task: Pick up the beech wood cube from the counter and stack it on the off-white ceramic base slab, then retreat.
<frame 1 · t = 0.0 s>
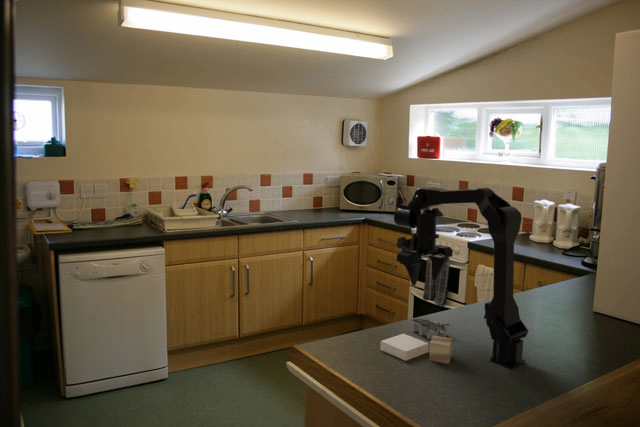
hand: (424, 282, 158), 15 cm above the counter, fingers open, 9 cm apart
cube: (440, 358, 140), on the counter
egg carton: (428, 334, 158), on the counter
base: (404, 351, 144), on the counter
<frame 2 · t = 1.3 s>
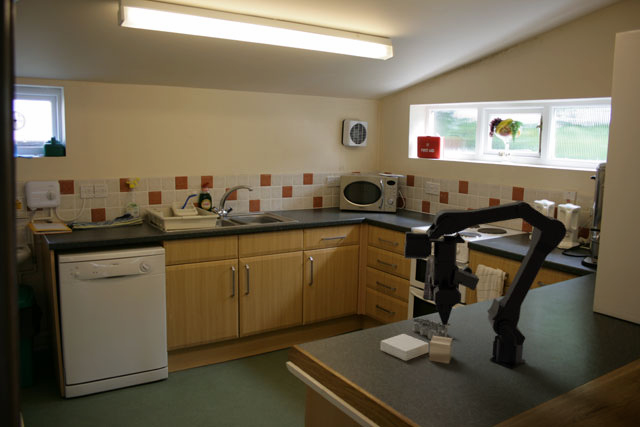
hand: (442, 318, 138), 11 cm above the counter, fingers open, 9 cm apart
nothing on the counter moved.
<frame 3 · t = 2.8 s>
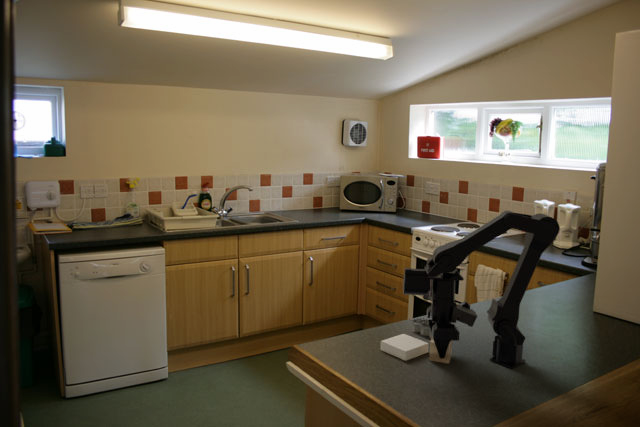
hand: (440, 353, 139), 1 cm above the counter, fingers closed on cube, 6 cm apart
cube: (440, 358, 140), on the counter, touching gripper
everything else where it was.
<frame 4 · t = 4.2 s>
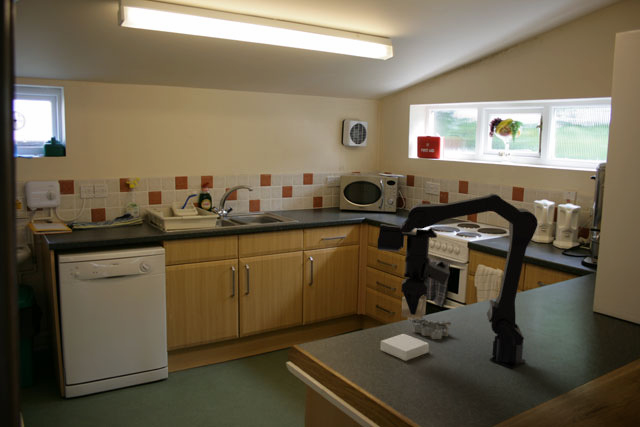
hand: (413, 310, 141), 12 cm above the counter, fingers closed on cube, 6 cm apart
cube: (413, 315, 141), point 10 cm above the counter, touching gripper
everything else where it was.
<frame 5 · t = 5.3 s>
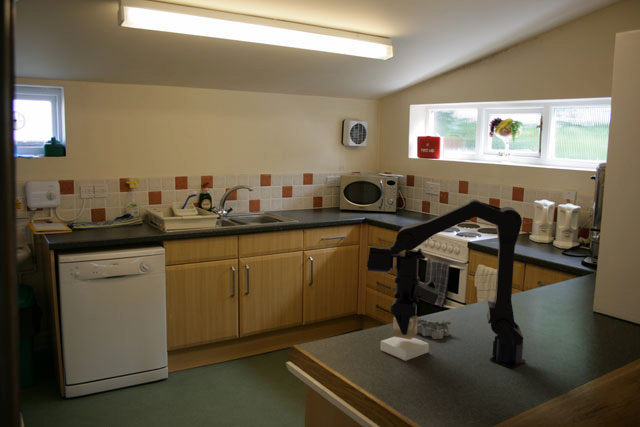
hand: (405, 330, 143), 6 cm above the counter, fingers closed on cube, 6 cm apart
cube: (405, 334, 143), point 5 cm above the counter, touching gripper
when the fingers open (5 cm above the counter, at t = 5.9 s): cube drops 1 cm, resting on base.
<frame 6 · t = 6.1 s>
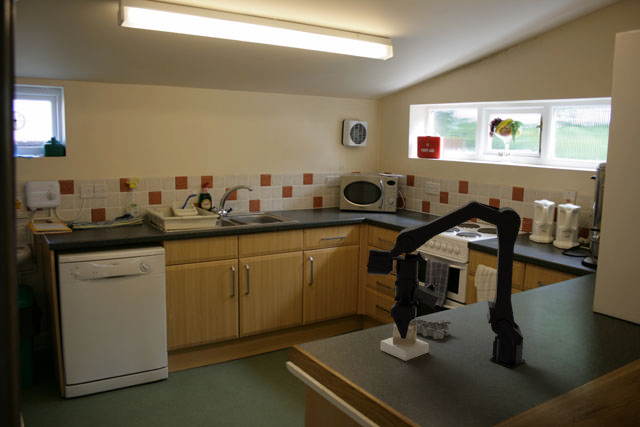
hand: (405, 333, 143), 5 cm above the counter, fingers open, 8 cm apart
cube: (404, 342, 144), point 2 cm above the counter, touching base
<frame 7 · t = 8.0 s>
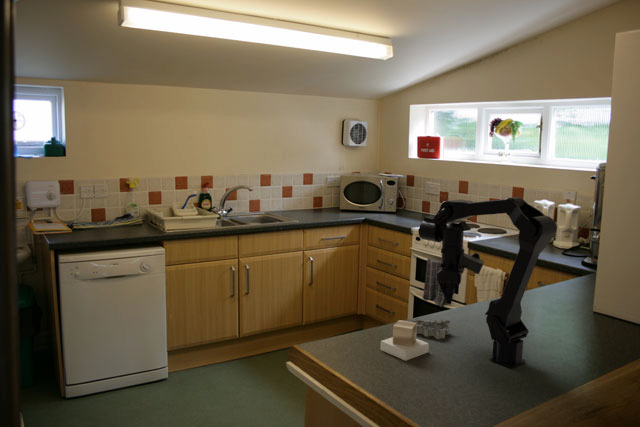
hand: (450, 299, 151), 12 cm above the counter, fingers open, 9 cm apart
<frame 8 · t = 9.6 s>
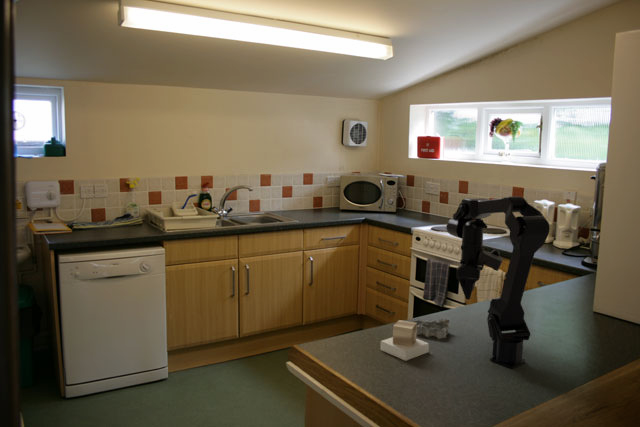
hand: (469, 294, 155), 12 cm above the counter, fingers open, 9 cm apart
at the end: cube inside the target area on the base (0.0 cm from its centre), point 2.5 cm above the base's base; cube tilted 0°; cube touching base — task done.
